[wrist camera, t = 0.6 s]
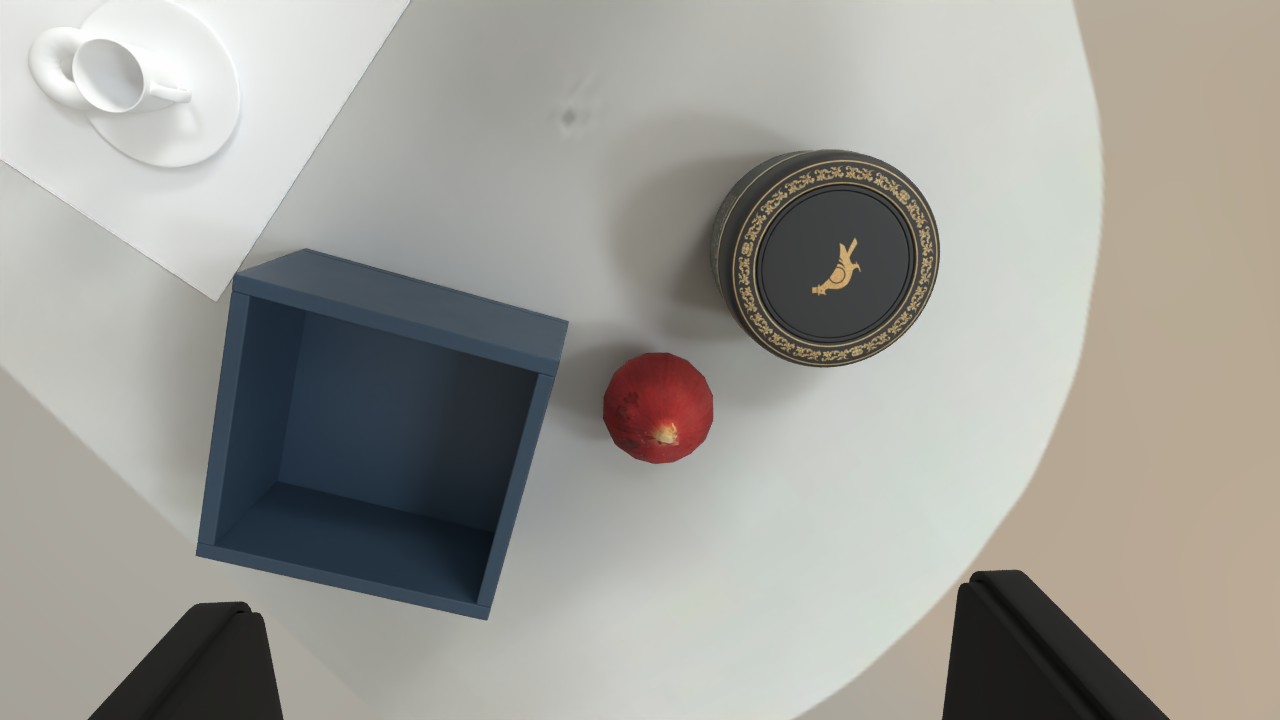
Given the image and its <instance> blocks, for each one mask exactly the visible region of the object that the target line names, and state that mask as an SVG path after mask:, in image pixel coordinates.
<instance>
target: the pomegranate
mask: <svg viewBox="0 0 1280 720" xmlns="http://www.w3.org/2000/svg"><path fill="white" fill-rule="evenodd" d="M603 419H604V422H605V424H606V427H607V429H608V431H609V433H610V435H611V437H612V439H613V441H614V443H615V444H616V445H617V446H618V447H619V448H621V449H622V450H624V451H625V452H626V453H628V454H629V455H631V456H632V457H634V458H635V459H638V460H642V461H646V462H650V463H654V464H659V463H670V462H675V461H677V460H679V459H681V458H683V457H685V456H687V455H689V454H691V453H692V452H693V451H694V450H695V449H696V448H697V447H698V446H699V445H700V444H702V443H703V442H704V440H705V439H706V437H707V434H708V432H709V429H710V427H711V424H712V422H713V395H712V393H711V391H710V389H709V386H708V384H707V382H706V380H705V377H704V376H703V375H702V374H701V373H700V372H699V371H698V370H697V369H696V368H695V367H693V366H692V365H691V364H690V363H689V362H688V361H687V360H685V359H682V358H680V357H677V356H675V355H672V354H670V353H646V354H643V355H641V356H638V357H636V358H633V359H631V360H629V361H628V362H626V363H625V364H624V365H623V366H622V367H621V368H620V369H619V370H618V371H617V372H615V374H614V375H613V377H612V380H611V382H610V384H609V386H608V388H607V390H606V392H605V395H604V403H603Z"/></svg>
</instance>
